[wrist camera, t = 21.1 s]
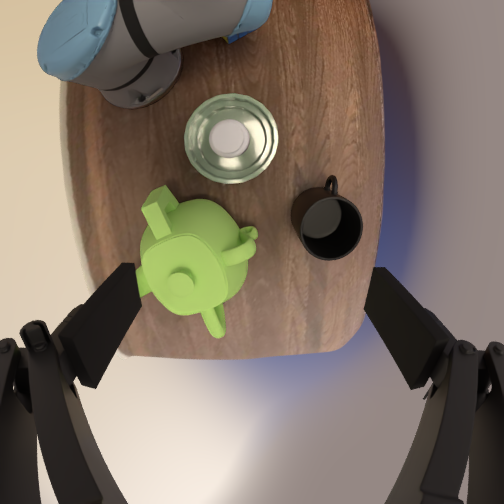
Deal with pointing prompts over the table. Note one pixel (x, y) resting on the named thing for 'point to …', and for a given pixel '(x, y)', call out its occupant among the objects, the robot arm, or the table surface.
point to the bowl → (259, 131)
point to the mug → (326, 222)
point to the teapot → (193, 256)
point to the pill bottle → (229, 138)
